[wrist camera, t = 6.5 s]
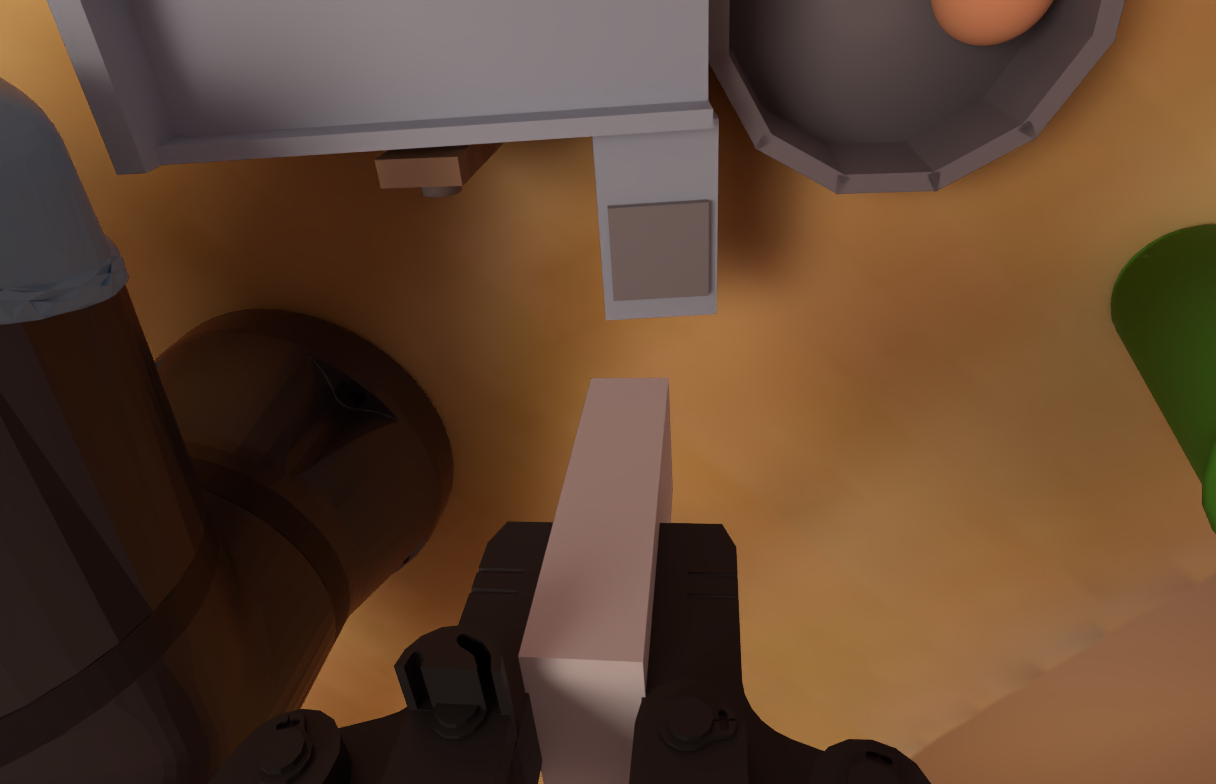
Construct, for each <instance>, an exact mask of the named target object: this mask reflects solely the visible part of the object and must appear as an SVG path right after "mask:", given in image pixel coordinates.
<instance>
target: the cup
mask: <svg viewBox="0 0 1216 784" xmlns="http://www.w3.org/2000/svg"><path fill="white" fill-rule="evenodd" d="M1111 316H1112V321H1113V323H1114V326H1115V328H1116V330H1117V332H1118V334H1119V336H1120V338H1121V340H1122V341H1123V343H1124V345H1125V347H1126V349H1127V350H1128V352H1129V354H1130V356H1131V358H1132V359H1133V361H1134V363H1135V365H1136V366H1137V368H1138V370H1139V372H1140V374H1141V375H1142V377H1143V379H1144V381H1145V383H1146V384H1147V386H1148V388H1149V390H1150V392H1151V393H1152V395H1153V397H1154V399H1155V401H1156V402H1157V404H1158V406H1159V408H1160V410H1161V411H1162V413H1163V415H1164V417H1165V419H1166V420H1167V422H1168V424H1169V426H1170V428H1171V429H1172V431H1173V433H1174V435H1175V437H1176V438H1177V440H1178V442H1179V444H1180V446H1181V447H1182V449H1183V451H1184V453H1185V455H1186V456H1187V458H1188V460H1189V462H1190V464H1191V465H1192V467H1193V469H1194V471H1195V473H1196V474H1197V476H1198V478H1199V480H1200V481H1201V483H1202V505H1203V508H1204V510H1205V513H1206V515H1207V518H1208V520H1209V523H1210V525H1211V528H1212V530H1213V531H1214V532H1215V533H1216V225H1204V226H1197V227H1191V228H1186V229H1181V230H1178V231H1175V232H1173V233H1170V234H1167V235H1164V236H1162V237H1161V238H1159V239H1157V240H1155V241H1154V242H1152V243H1150V244H1149V245H1147V246H1146V247H1144V248H1143V249H1142V250H1141V251H1140V252H1139V253H1137V254H1136V255H1135V256H1134V257H1133V258H1132V259H1131V260H1130V261H1129V263H1128V264H1127V265H1126V266H1125V267H1124V269H1123V270H1122V271H1121V273H1120V275H1119V277H1118V279H1117V281H1116V283H1115V286H1114V290H1113V294H1112V302H1111Z"/></svg>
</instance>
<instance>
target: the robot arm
mask: <svg viewBox="0 0 1216 784" xmlns="http://www.w3.org/2000/svg"><path fill="white" fill-rule="evenodd" d="M128 279H129V276H128V273H127V271H126V268H125V264H124V259H123V258H121V256H120V253H119V250H118V247H117V246H116V245H115V244H114V243H113V242H112V241H111V240H110V239H109V238H108V237H107V236H106V235H105V234H104V233H103V231H102V228H101V226H100V224H99V222H98V219H97V217H96V215H95V213H94V210H93V208H92V206H91V203H90V201H89V199H88V197H87V194H86V192H85V190H84V187H83V185H82V183H81V181H80V178H79V176H78V174H77V171H76V169H75V167H74V165H73V162H72V160H71V158H70V155H69V153H68V151H67V149H66V146H65V144H64V142H63V139H62V138H61V136H60V134H59V133H58V131H57V129H56V128H55V126H54V124H53V123H52V122H51V120H50V119H49V118H48V117H47V115H46V114H45V113H44V111H43V110H42V109H41V108H40V107H39V106H38V105H37V104H36V103H35V102H34V101H33V100H31V99H30V98H29V97H28V96H27V95H26V94H24V93H23V92H22V91H20V90H19V89H18V88H16V87H15V86H13V85H12V84H10V83H8V82H7V81H5V80H4V79H2V78H0V784H538V781H539V776H540V771H541V772H542V777H543V782H544V784H931V783H930V782H929V780H928V779H927V778H926V776H925V775H924V774H923V772H922V771H921V769H920V768H919V767H918V766H917V764H916V763H915V762H913V761H912V760H911V759H909V758H908V757H906V756H905V755H904V754H902V753H901V752H900V751H898V750H897V749H896V748H893V747H890V746H888V745H885V744H882V743H879V742H877V741H874V740H861V739H848V740H845V741H843V742H840V743H837V744H835V745H832V746H829V747H828V748H827V749H826V750H825V751H822V750H819V749H816V748H814V747H811V746H808V745H806V744H803V743H800V742H797V741H795V740H792V739H790V738H788V737H786V736H784V735H782V734H780V733H778V732H776V731H774V730H773V729H772V728H771V727H769V726H768V725H767V724H766V723H764V722H763V721H762V720H761V719H760V718H759V717H758V715H757V714H756V713H755V712H754V711H753V709H752V708H751V706H750V704H749V702H748V700H747V698H746V696H745V694H744V688H743V683H742V669H741V646H740V623H739V600H738V579H737V554H736V546H735V544H734V543H733V541H732V540H731V538H730V536H729V535H728V533H727V531H726V530H725V528H724V527H723V525H722V524H692V523H670V522H671V507H672V492H673V487H672V459H671V432H670V405H669V378H591V381H590V385H589V388H588V392H587V396H586V400H585V404H584V407H583V411H582V415H581V419H580V423H579V426H578V430H577V434H576V438H575V442H574V446H573V449H572V453H571V457H570V461H569V465H568V468H567V472H566V476H565V480H564V484H563V487H562V491H561V495H560V499H559V503H558V507H557V510H556V514H555V518H554V522H553V523H552V522H507V523H506V524H505V525H504V526H503V527H502V528H501V529H500V530H499V531H498V532H497V534H496V535H495V536H494V537H493V538H492V539H491V540H490V541H489V542H488V544H487V546H486V549H485V552H484V555H483V558H482V560H481V563H480V566H479V573H477V574H476V577H475V580H474V583H473V585H472V592H471V593H470V594H469V596H468V599H467V602H466V605H465V608H464V610H463V613H462V616H461V619H460V621H459V624H458V626H449V627H442V628H439V629H437V630H434V631H432V632H430V633H427V634H425V635H423V636H421V637H420V638H419V639H417V640H416V641H415V642H414V643H412V644H411V645H410V646H409V647H407V648H406V649H405V650H404V652H403V653H402V655H401V656H400V658H399V659H398V661H397V662H396V664H395V665H394V668H395V671H396V674H397V677H398V680H399V683H400V686H401V689H402V692H403V695H404V698H405V701H406V704H407V707H406V708H405V709H403V710H401V711H399V712H397V713H394V714H391V715H388V716H385V717H382V718H378V719H374V720H370V721H366V722H362V723H358V724H354V725H350V726H346V727H342V728H338V727H337V725H336V723H335V721H334V719H332V718H331V717H329V716H328V715H326V714H325V713H323V712H321V711H318V710H308V709H301V707H302V705H303V703H304V701H305V699H306V697H307V695H308V693H309V691H310V689H311V687H312V685H313V683H314V682H315V680H316V678H317V676H318V674H319V672H320V670H321V668H322V666H323V664H324V662H325V660H326V658H327V657H328V655H329V653H330V651H331V649H332V647H333V645H334V643H335V641H336V639H337V637H338V636H339V634H340V632H341V630H342V628H343V626H344V624H345V622H346V620H347V618H348V617H349V616H350V614H352V613H353V612H354V611H355V610H356V609H357V608H358V607H359V606H360V605H361V604H362V603H363V602H364V601H365V600H366V599H367V598H368V597H369V596H370V595H371V594H372V593H373V592H374V591H375V590H376V589H377V588H378V587H379V586H380V585H382V584H383V583H384V582H385V581H386V580H387V579H388V578H389V576H390V575H391V574H393V573H395V572H396V571H398V570H399V569H401V568H402V567H403V566H404V565H406V564H407V563H408V562H409V561H410V560H411V559H413V558H414V557H415V556H416V555H417V554H418V553H419V551H420V550H421V549H422V548H423V546H424V545H425V544H426V542H427V541H428V539H429V538H430V536H431V535H432V533H433V531H434V529H435V527H436V525H437V523H438V520H439V518H440V516H441V514H442V512H443V510H444V507H445V505H446V503H447V501H448V498H449V494H450V491H451V486H452V479H453V461H452V454H451V448H450V444H449V440H448V437H447V434H446V431H445V429H444V426H443V424H442V422H441V419H440V418H439V416H438V414H437V412H436V410H435V408H434V407H433V405H432V404H431V402H430V400H429V399H428V398H427V396H426V395H425V393H424V392H423V391H422V389H421V388H420V387H419V386H418V385H417V383H416V382H415V381H414V380H413V379H412V378H411V377H410V376H409V375H408V374H407V373H406V372H405V371H404V370H403V369H402V368H401V367H400V366H399V365H398V364H397V363H396V362H394V361H393V360H392V359H391V358H390V357H389V356H387V355H386V354H385V353H383V352H382V351H381V350H379V349H378V348H376V347H375V346H373V345H372V344H370V343H369V342H367V341H365V340H364V339H362V338H360V337H359V336H357V335H355V334H353V333H351V332H349V331H347V330H345V329H343V328H340V327H338V326H336V325H334V324H331V323H328V322H325V321H323V320H320V319H317V318H313V317H310V316H306V315H302V314H297V313H292V312H285V311H276V310H247V311H239V312H234V313H229V314H225V315H222V316H219V317H216V318H213V319H211V320H208V321H206V322H204V323H202V324H201V325H199V326H197V327H196V328H194V329H193V330H191V331H190V332H189V333H187V334H186V335H185V336H183V337H182V338H181V339H180V340H178V341H177V342H176V343H174V344H173V345H172V346H171V347H169V348H168V349H167V350H166V351H164V352H163V353H162V354H161V355H160V356H159V357H158V358H157V359H156V360H155V361H154V360H153V357H152V355H151V352H150V349H149V347H148V344H147V341H146V339H145V336H144V333H143V331H142V328H141V325H140V323H139V320H138V317H137V315H136V312H135V309H134V307H133V304H132V301H131V299H130V296H129V293H128V291H127V288H126V285H125V284H126V283H127V282H128Z"/></svg>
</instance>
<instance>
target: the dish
mask: <svg viewBox="0 0 1216 784" xmlns="http://www.w3.org/2000/svg"><path fill="white" fill-rule="evenodd" d="M1124 2H1125V0H1053V2H1052V4H1051V5H1050V7H1049V8H1048V10H1047V11H1046V13H1045V14H1044V15H1043V16H1042V17H1041V18H1040V19H1039V20H1038V21H1037V22H1036V23H1035V24H1034V25H1033V26H1032V27H1031V28H1029V29H1028V30H1027V31H1025V32H1024V33H1022V34H1021V35H1019V36H1017V37H1015V38H1013V39H1011V40H1009V41H1006V42H1003V43H1000V44H995V45H989V46H975V45H969V44H966V43H963V42H960V41H958V40H956V39H955V38H953V37H951V36H950V35H949V34H948V33H946V32H945V31H944V30H943V28H942V27H941V26H940V24H939V23H938V21H937V19H936V17H935V15H934V13H933V9H932V5H931V0H709V14H708V64H710V66H711V68H712V70H713V71H714V73H715V75H716V77H717V79H718V80H719V82H720V84H721V86H722V88H723V90H724V91H725V93H726V95H727V97H728V99H729V100H730V102H731V104H732V106H733V108H734V110H735V111H736V113H737V115H738V117H739V119H740V120H741V122H742V124H743V126H744V128H745V129H746V131H747V133H748V135H749V137H750V139H751V140H752V142H753V144H754V146H755V149H757V150H759V151H761V152H763V153H764V154H766V155H768V156H770V157H772V158H773V159H775V160H777V161H779V162H781V163H783V164H784V165H786V166H788V167H790V168H792V169H793V170H795V171H797V172H799V173H801V174H802V175H804V176H806V177H808V178H810V179H811V180H813V181H815V182H817V183H819V184H820V185H822V186H824V187H826V188H828V189H829V190H831V191H833V192H835V193H836V194H849V193H883V192H917V191H934V192H935V191H938V190H939V189H941V188H943V187H944V186H946V185H948V184H950V183H952V182H954V181H956V180H958V179H960V178H961V177H963V176H965V175H967V174H969V173H971V172H973V171H975V170H977V169H979V168H980V167H982V166H984V165H986V164H988V163H990V162H992V161H994V160H996V159H997V158H999V157H1001V156H1003V155H1005V154H1007V153H1009V152H1011V151H1013V150H1015V149H1016V148H1018V147H1020V146H1022V145H1024V144H1026V143H1028V142H1030V141H1032V140H1035V138H1037V136H1038V135H1039V133H1040V132H1041V131H1042V130H1043V128H1044V127H1045V126H1046V125H1047V123H1048V122H1049V121H1050V120H1051V118H1052V117H1053V116H1054V115H1055V114H1056V112H1057V111H1058V110H1059V109H1060V107H1061V106H1062V105H1063V104H1064V102H1065V101H1066V100H1067V99H1068V97H1069V96H1070V95H1071V94H1072V92H1073V91H1074V90H1075V89H1076V87H1077V86H1078V85H1079V84H1080V83H1081V81H1082V80H1083V79H1084V78H1085V76H1086V75H1087V74H1088V73H1089V71H1090V70H1091V69H1092V68H1093V66H1094V65H1095V64H1096V63H1097V61H1098V60H1099V59H1100V58H1101V56H1102V55H1103V54H1104V53H1105V51H1106V50H1107V49H1108V48H1109V47H1110V45H1111V44H1112V43H1113V42H1114V40H1115V39H1116V38H1115V37H1116V33H1117V29H1118V25H1119V21H1120V17H1121V14H1122V10H1123V6H1124Z"/></svg>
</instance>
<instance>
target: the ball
mask: <svg viewBox="0 0 1216 784" xmlns="http://www.w3.org/2000/svg"><path fill="white" fill-rule="evenodd" d="M1052 2H1053V0H931V5H932V9H933V13H934V15H935V17H936V19H937V21H938V23H939V24H940V26H941V27H942V28H943V30H944V31H945V32H946V33H948V34H949V35H950V36H951V37H953V38H955V39H956V40H958V41H960V42H963V43H966V44H969V45H975V46H989V45H995V44H1000V43H1003V42H1006V41H1009V40H1011V39H1013V38H1015V37H1017V36H1019V35H1021V34H1022V33H1024V32H1025V31H1027V30H1028V29H1029V28H1031V27H1032V26H1033V25H1034V24H1035V23H1036V22H1037V21H1038V20H1039V19H1040V18H1041V17H1042V16H1043V15H1044V14H1045V13H1046V11H1047V10H1048V8H1049V7H1050V5H1051V4H1052Z"/></svg>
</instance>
